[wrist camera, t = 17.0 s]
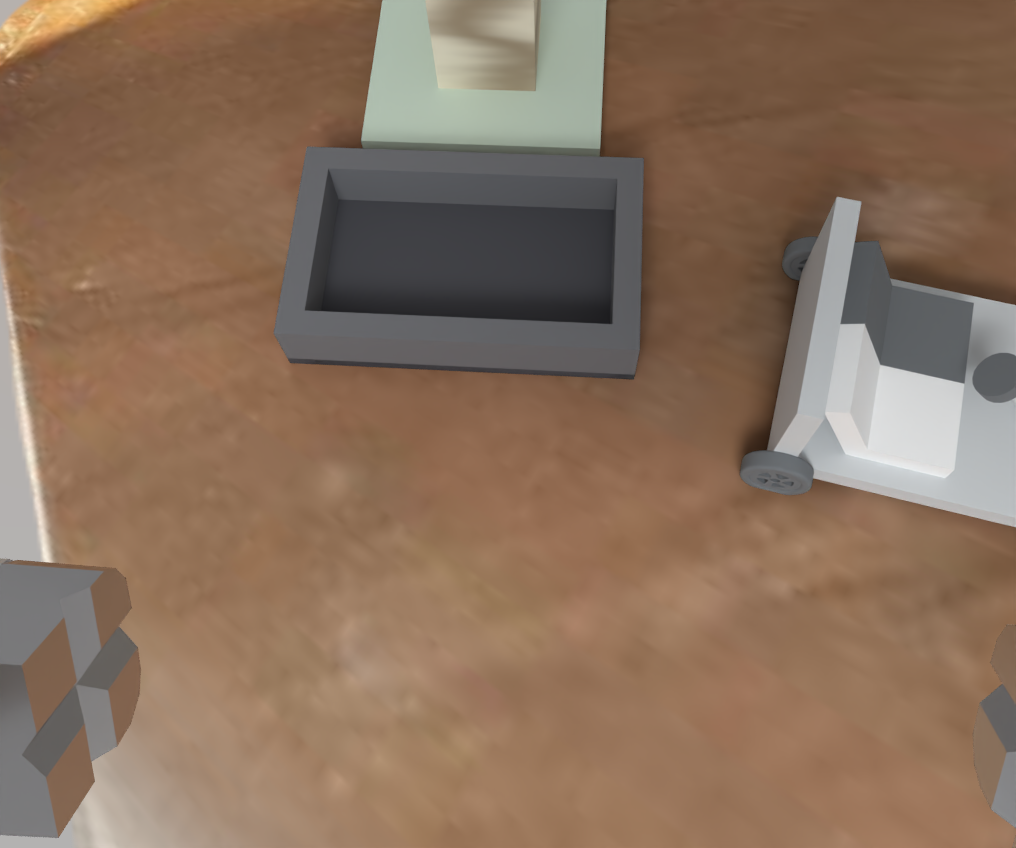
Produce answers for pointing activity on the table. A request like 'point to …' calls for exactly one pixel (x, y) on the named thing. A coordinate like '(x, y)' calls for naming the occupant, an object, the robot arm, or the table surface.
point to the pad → (489, 113)
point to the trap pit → (465, 262)
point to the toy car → (891, 384)
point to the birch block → (485, 43)
